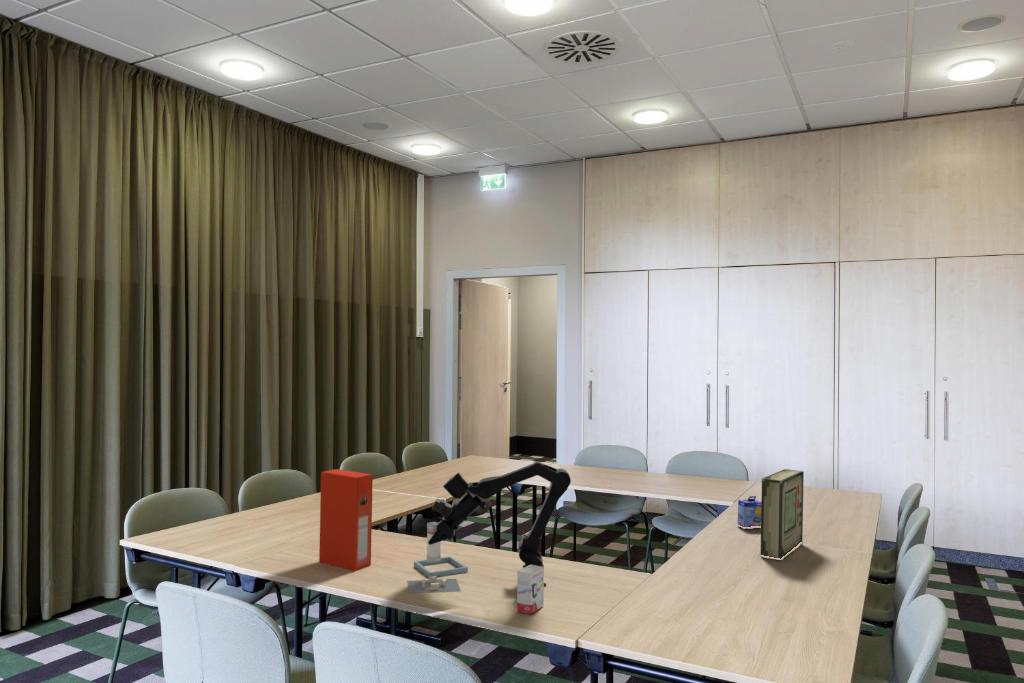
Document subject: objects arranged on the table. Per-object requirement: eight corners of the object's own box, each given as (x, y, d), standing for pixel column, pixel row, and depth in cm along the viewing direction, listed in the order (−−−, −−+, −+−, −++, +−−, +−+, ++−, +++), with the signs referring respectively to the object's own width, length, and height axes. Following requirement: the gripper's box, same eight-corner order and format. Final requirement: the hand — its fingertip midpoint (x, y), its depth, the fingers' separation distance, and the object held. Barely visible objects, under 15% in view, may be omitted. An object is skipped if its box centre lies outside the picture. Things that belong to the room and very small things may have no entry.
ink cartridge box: (744, 530, 305) (744, 497, 305) (736, 527, 310) (737, 494, 310) (763, 528, 307) (763, 496, 308) (755, 525, 313) (755, 493, 313)
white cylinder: (439, 557, 230) (439, 521, 230) (441, 562, 226) (442, 525, 226) (425, 558, 229) (426, 522, 229) (427, 563, 224) (428, 525, 224)
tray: (450, 563, 247) (450, 556, 247) (467, 574, 235) (467, 567, 235) (413, 568, 240) (413, 561, 240) (429, 580, 228) (429, 573, 228)
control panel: (780, 561, 259) (782, 481, 260) (760, 557, 264) (761, 478, 264) (802, 544, 283) (803, 471, 283) (783, 541, 288) (784, 469, 288)
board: (456, 581, 227) (456, 573, 228) (460, 594, 216) (461, 585, 216) (407, 583, 224) (407, 575, 224) (409, 596, 212) (409, 587, 213)
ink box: (530, 615, 200) (531, 574, 200) (515, 611, 203) (516, 571, 203) (544, 606, 208) (545, 566, 208) (529, 602, 210) (530, 563, 210)
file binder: (354, 571, 235) (356, 477, 236) (318, 562, 244) (321, 471, 245) (370, 565, 242) (373, 474, 243) (335, 557, 251) (337, 468, 252)
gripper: (449, 485, 237) (416, 517, 237) (444, 497, 218) (408, 531, 218) (472, 509, 237) (439, 540, 236) (468, 522, 218) (432, 557, 218)
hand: (429, 541), depth 227 cm, fingers closed on white cylinder, 4 cm apart
